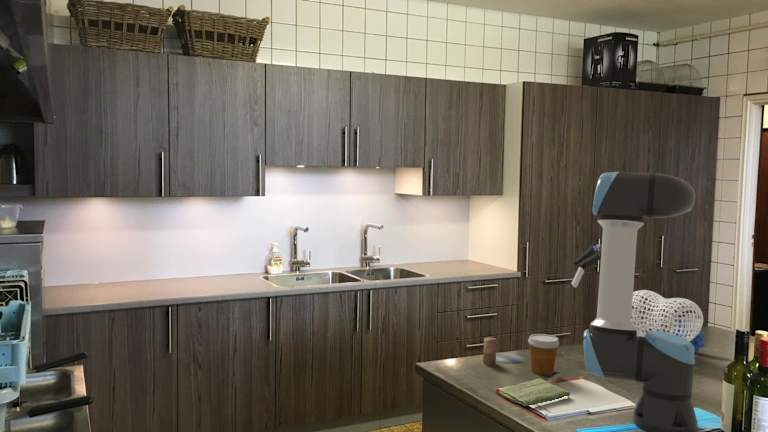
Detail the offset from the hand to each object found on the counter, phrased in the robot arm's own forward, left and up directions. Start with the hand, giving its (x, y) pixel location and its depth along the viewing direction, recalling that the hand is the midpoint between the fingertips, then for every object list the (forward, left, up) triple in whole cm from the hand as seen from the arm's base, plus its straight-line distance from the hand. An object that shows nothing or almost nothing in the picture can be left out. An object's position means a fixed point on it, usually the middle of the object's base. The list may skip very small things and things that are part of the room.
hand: (591, 291), depth 212 cm
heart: (+28, -14, -25) cm, 40 cm away
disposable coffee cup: (-18, +7, -25) cm, 32 cm away
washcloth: (-37, 0, -26) cm, 45 cm away
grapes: (+42, -19, -25) cm, 53 cm away
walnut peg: (-23, +23, -24) cm, 40 cm away
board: (-16, +20, -25) cm, 36 cm away
